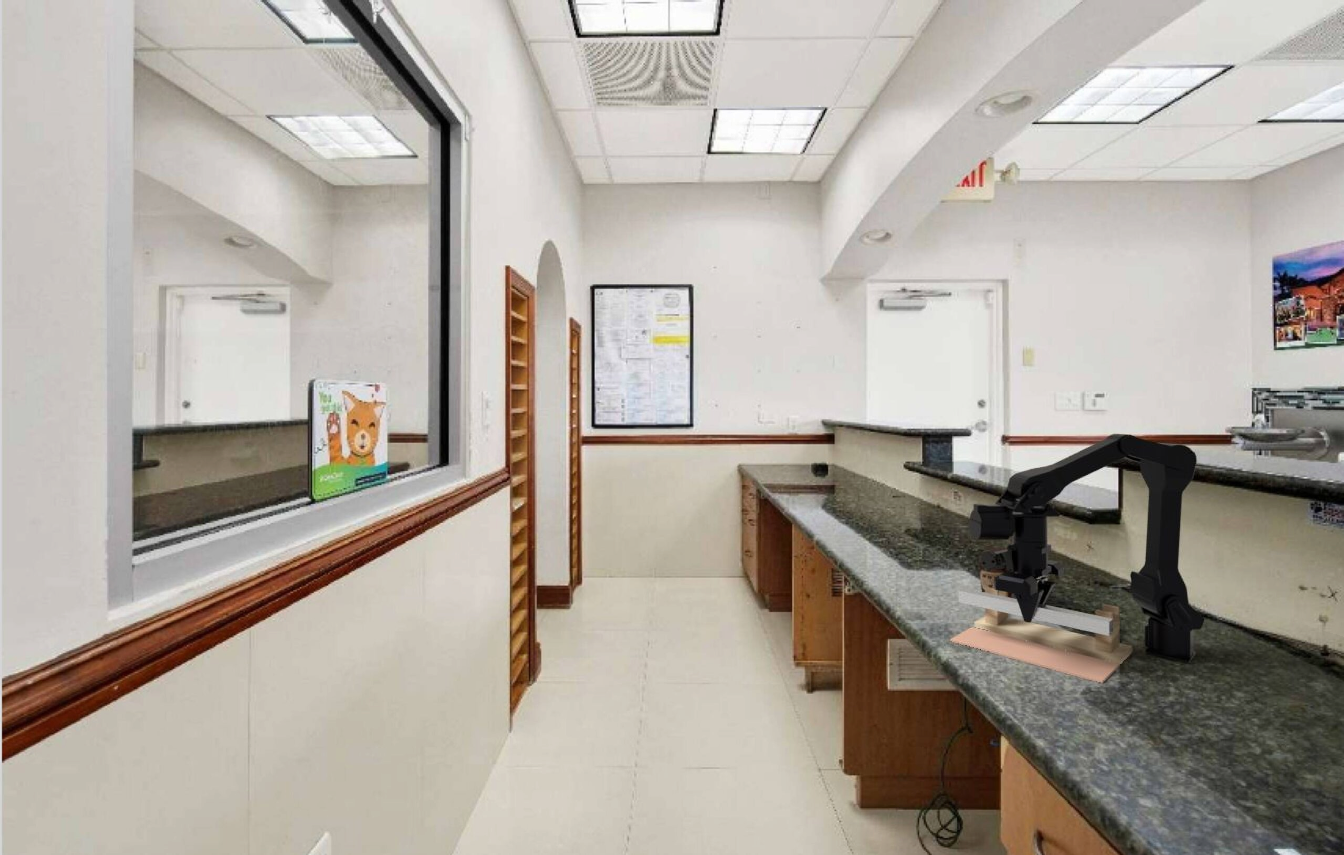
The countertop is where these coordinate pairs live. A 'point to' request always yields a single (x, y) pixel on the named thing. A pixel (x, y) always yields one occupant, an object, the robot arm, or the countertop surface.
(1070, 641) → the hook stand
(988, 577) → the coffee cup
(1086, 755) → the countertop surface
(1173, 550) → the robot arm
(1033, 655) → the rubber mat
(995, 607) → the steel rail
